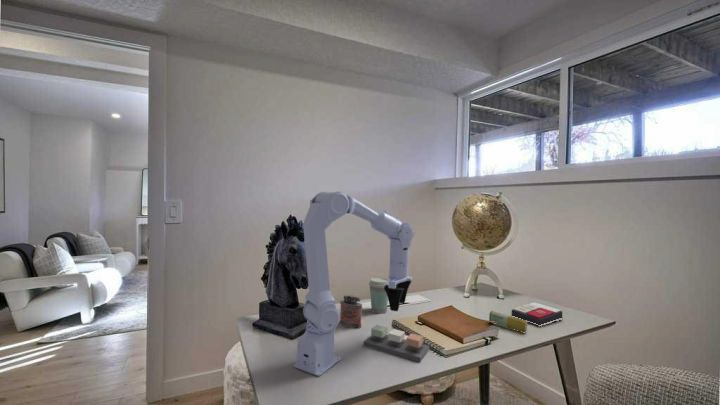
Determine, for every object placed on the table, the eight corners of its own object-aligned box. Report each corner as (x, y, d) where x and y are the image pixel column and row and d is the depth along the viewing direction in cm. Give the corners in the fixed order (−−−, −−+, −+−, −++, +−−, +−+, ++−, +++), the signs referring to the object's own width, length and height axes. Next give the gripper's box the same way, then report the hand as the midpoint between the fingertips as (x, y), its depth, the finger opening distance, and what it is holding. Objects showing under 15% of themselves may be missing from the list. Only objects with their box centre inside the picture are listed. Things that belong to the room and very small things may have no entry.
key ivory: (399, 342, 86) (400, 336, 86) (388, 339, 88) (388, 333, 88) (404, 337, 89) (404, 331, 89) (393, 334, 91) (393, 328, 91)
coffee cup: (391, 315, 114) (392, 283, 114) (368, 314, 114) (369, 282, 114) (389, 307, 123) (390, 277, 123) (367, 306, 123) (368, 276, 123)
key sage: (382, 337, 89) (382, 331, 89) (371, 334, 90) (371, 328, 90) (387, 333, 92) (387, 327, 92) (376, 330, 94) (376, 324, 94)
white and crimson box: (511, 307, 117) (533, 300, 124) (511, 319, 117) (533, 311, 124) (540, 317, 107) (562, 309, 115) (540, 329, 107) (562, 320, 115)
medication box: (488, 323, 110) (488, 312, 110) (491, 321, 112) (491, 310, 111) (525, 334, 101) (525, 322, 101) (527, 332, 103) (528, 320, 103)
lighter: (337, 324, 104) (338, 294, 104) (342, 320, 107) (343, 292, 107) (358, 329, 100) (359, 298, 100) (363, 325, 103) (364, 296, 103)
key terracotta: (418, 347, 83) (418, 341, 83) (406, 344, 85) (406, 337, 85) (422, 342, 86) (423, 336, 86) (410, 339, 88) (411, 333, 88)
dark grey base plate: (420, 362, 81) (420, 357, 81) (363, 345, 89) (363, 340, 89) (429, 350, 88) (429, 345, 88) (376, 335, 96) (376, 331, 96)
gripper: (406, 267, 85) (404, 316, 85) (417, 259, 98) (415, 301, 98) (382, 264, 87) (380, 312, 87) (395, 257, 101) (394, 298, 101)
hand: (397, 306), depth 93 cm, fingers open, 7 cm apart
